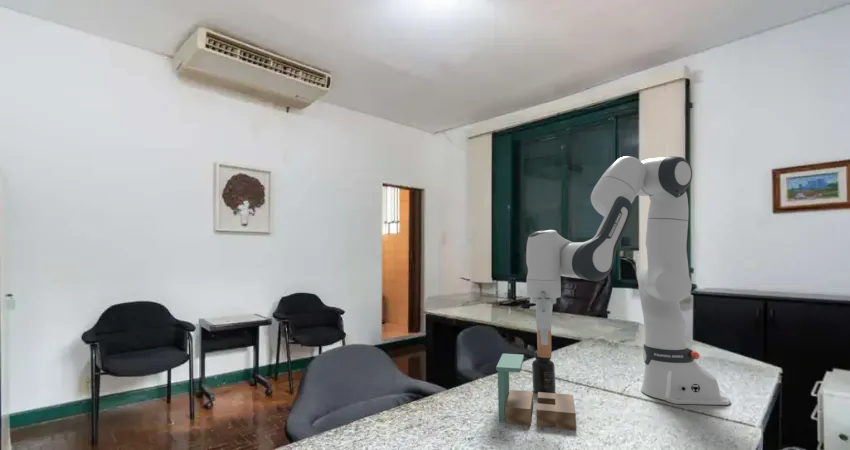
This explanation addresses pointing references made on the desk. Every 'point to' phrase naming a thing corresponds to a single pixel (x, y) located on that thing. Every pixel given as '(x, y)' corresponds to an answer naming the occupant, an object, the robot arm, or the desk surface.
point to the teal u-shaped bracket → (506, 378)
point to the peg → (543, 346)
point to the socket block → (541, 409)
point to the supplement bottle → (543, 375)
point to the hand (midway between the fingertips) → (544, 342)
